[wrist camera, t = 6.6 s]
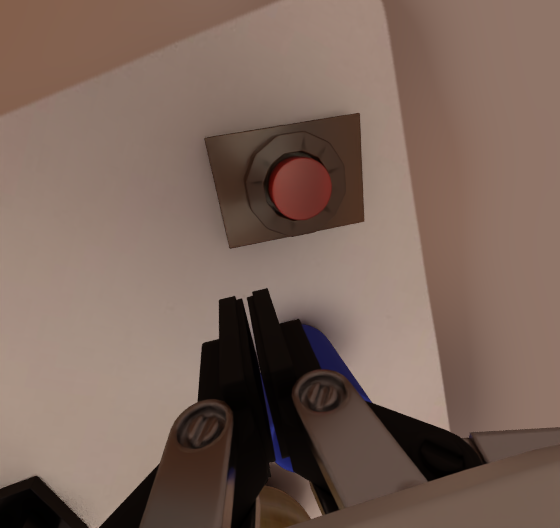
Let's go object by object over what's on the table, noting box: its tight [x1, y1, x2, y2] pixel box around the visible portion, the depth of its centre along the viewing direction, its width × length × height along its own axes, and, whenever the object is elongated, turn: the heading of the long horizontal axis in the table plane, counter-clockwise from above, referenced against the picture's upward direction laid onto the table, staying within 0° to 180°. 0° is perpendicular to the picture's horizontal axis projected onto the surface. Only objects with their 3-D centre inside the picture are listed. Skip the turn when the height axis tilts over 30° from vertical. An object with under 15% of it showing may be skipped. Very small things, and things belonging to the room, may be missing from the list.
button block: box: [205, 113, 364, 249], centre depth 23 cm, size 11×8×4 cm
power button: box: [268, 156, 332, 220], centre depth 21 cm, size 4×4×2 cm
